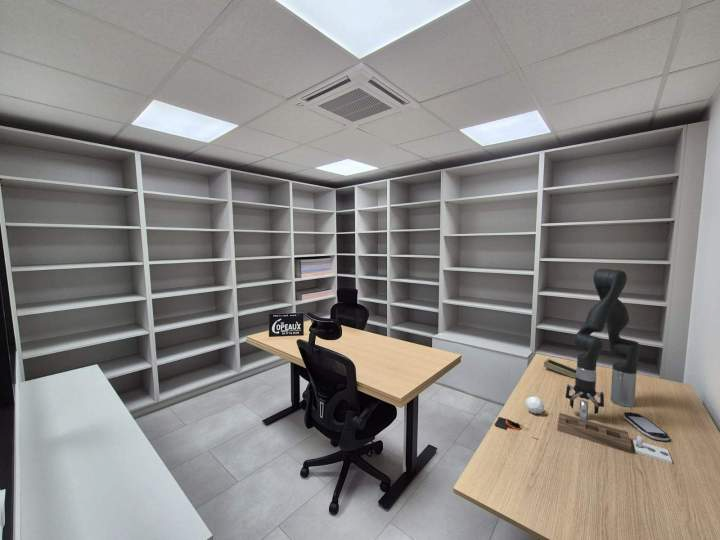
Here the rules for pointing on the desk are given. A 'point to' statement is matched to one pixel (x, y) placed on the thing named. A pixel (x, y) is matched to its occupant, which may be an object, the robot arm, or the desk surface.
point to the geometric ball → (534, 405)
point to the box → (560, 368)
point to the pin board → (594, 432)
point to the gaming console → (646, 426)
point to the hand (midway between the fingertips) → (583, 410)
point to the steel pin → (583, 410)
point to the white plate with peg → (651, 450)
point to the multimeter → (507, 424)
